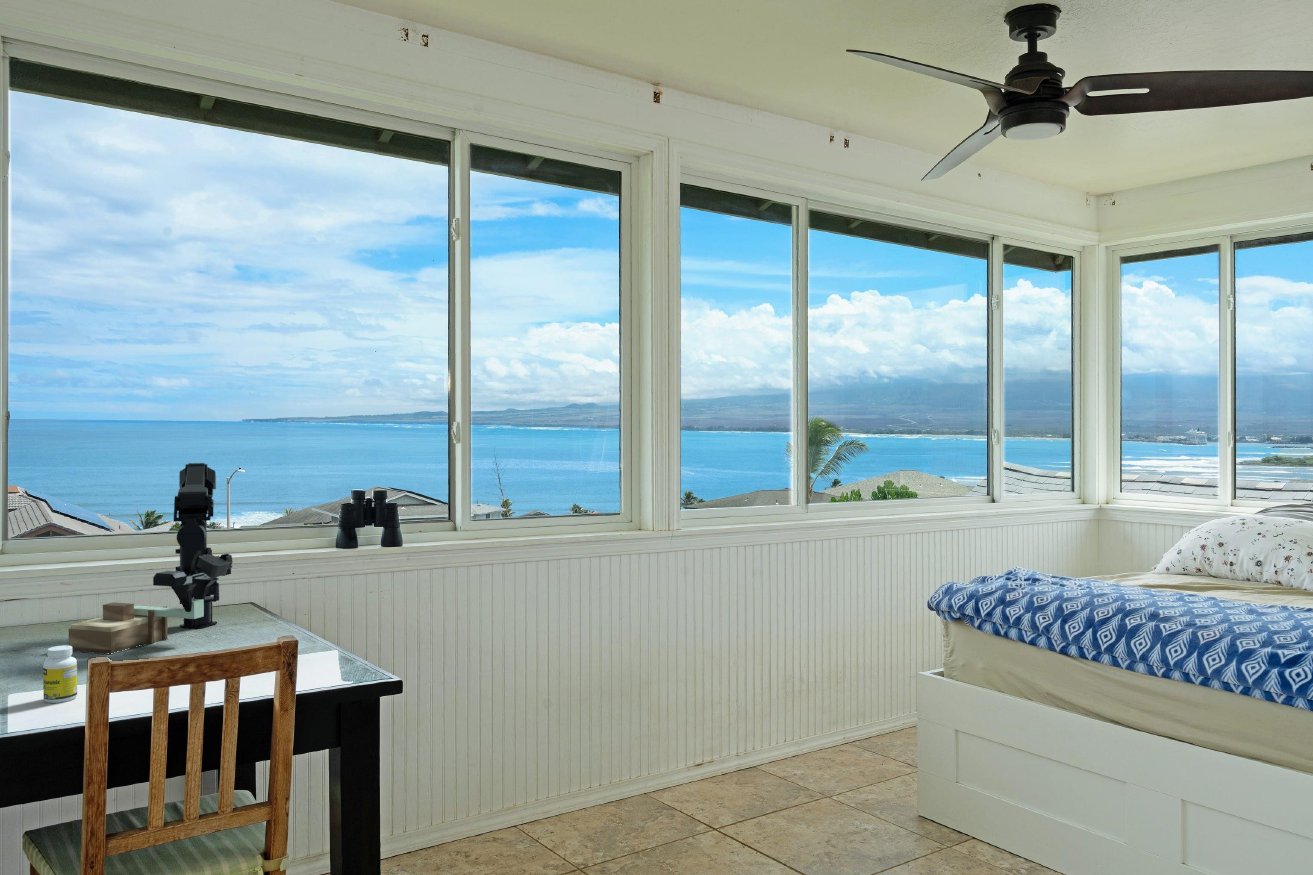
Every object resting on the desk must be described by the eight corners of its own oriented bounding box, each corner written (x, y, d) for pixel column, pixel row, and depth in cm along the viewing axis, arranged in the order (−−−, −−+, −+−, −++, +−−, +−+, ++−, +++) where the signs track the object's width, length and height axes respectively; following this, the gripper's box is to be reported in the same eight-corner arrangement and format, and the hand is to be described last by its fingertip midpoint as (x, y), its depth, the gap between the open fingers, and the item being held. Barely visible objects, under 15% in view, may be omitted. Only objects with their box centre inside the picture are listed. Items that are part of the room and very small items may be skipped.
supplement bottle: (36, 701, 176) (36, 649, 176) (63, 693, 181) (63, 643, 181) (57, 704, 174) (56, 652, 174) (84, 696, 179) (83, 645, 179)
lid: (125, 618, 230) (125, 596, 230) (164, 621, 227) (164, 599, 227) (70, 632, 215) (70, 609, 215) (110, 635, 212) (110, 611, 212)
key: (131, 611, 228) (131, 594, 228) (203, 616, 222) (203, 599, 222) (121, 613, 225) (121, 597, 225) (194, 618, 220) (194, 601, 219)
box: (122, 635, 231) (122, 603, 231) (169, 638, 227) (169, 606, 227) (65, 650, 215) (64, 616, 215) (114, 654, 212) (114, 619, 211)
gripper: (191, 550, 210) (191, 620, 210) (249, 540, 228) (250, 604, 228) (151, 548, 213) (151, 617, 213) (211, 538, 231) (211, 602, 231)
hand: (193, 610), depth 221 cm, fingers closed on key, 3 cm apart
